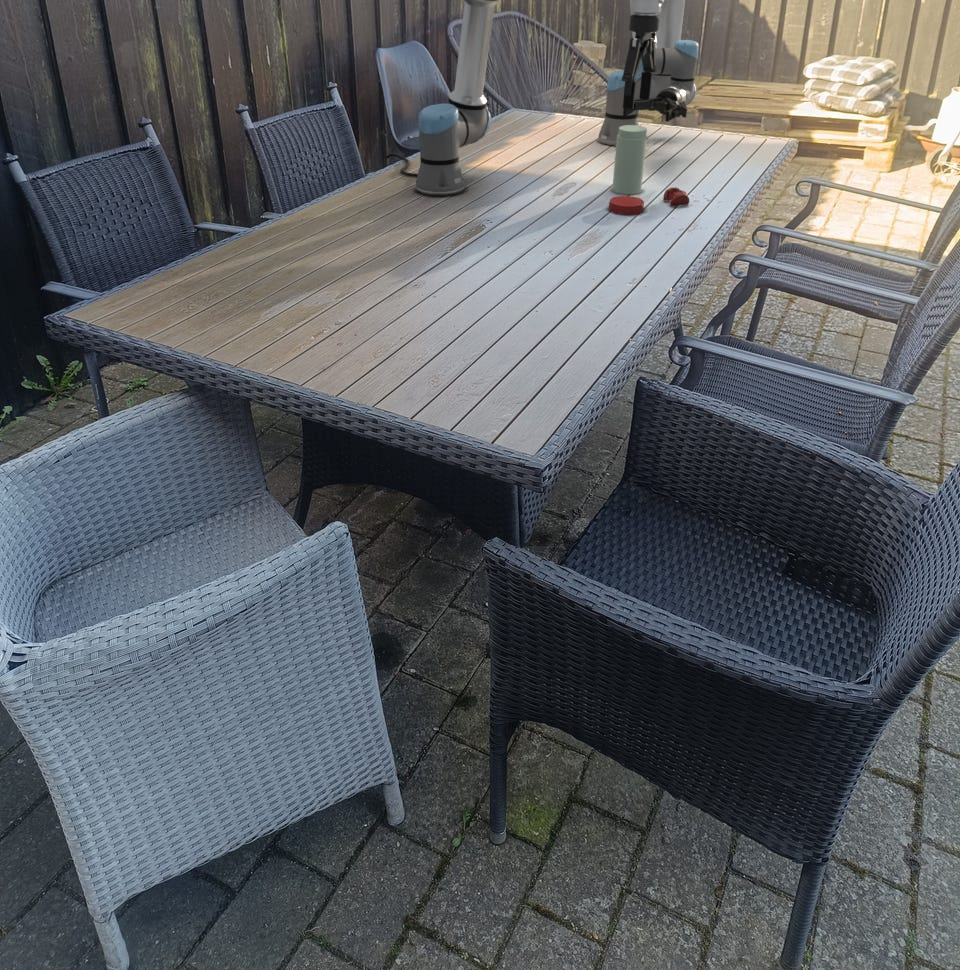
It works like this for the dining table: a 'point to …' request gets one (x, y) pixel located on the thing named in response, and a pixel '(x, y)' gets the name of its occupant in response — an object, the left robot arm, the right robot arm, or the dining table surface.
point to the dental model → (676, 197)
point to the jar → (629, 159)
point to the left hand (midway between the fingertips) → (636, 103)
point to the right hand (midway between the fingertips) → (645, 113)
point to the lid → (626, 205)
